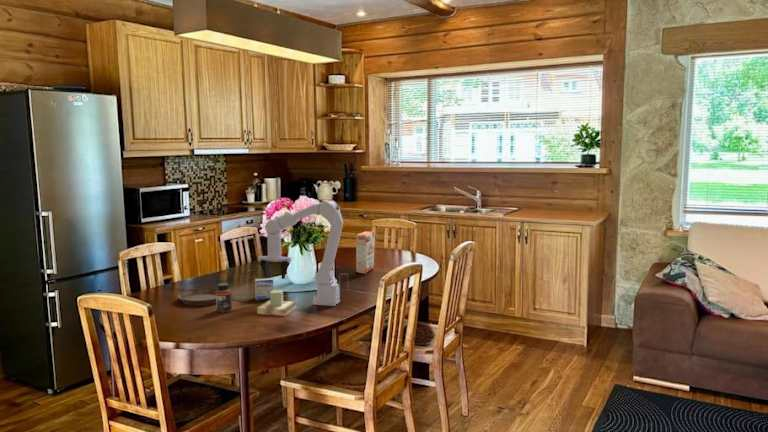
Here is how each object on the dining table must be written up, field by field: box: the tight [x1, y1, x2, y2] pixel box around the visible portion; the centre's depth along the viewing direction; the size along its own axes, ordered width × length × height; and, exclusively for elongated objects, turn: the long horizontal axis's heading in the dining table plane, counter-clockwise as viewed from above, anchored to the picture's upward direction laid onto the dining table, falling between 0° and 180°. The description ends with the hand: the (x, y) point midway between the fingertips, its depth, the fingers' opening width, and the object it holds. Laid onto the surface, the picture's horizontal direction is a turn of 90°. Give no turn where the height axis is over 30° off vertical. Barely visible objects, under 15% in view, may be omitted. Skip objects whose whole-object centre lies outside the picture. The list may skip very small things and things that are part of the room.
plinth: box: [256, 299, 297, 317], centre depth 239 cm, size 12×12×3 cm
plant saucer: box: [177, 287, 218, 306], centre depth 255 cm, size 21×21×3 cm
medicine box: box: [254, 277, 274, 301], centre depth 258 cm, size 8×4×9 cm, turn 105°
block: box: [269, 289, 284, 306], centre depth 239 cm, size 4×4×6 cm
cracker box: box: [355, 231, 375, 274], centre depth 310 cm, size 14×6×21 cm, turn 163°
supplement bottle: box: [215, 282, 233, 314], centre depth 238 cm, size 6×6×11 cm
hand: (275, 278), depth 252 cm, fingers open, 7 cm apart
